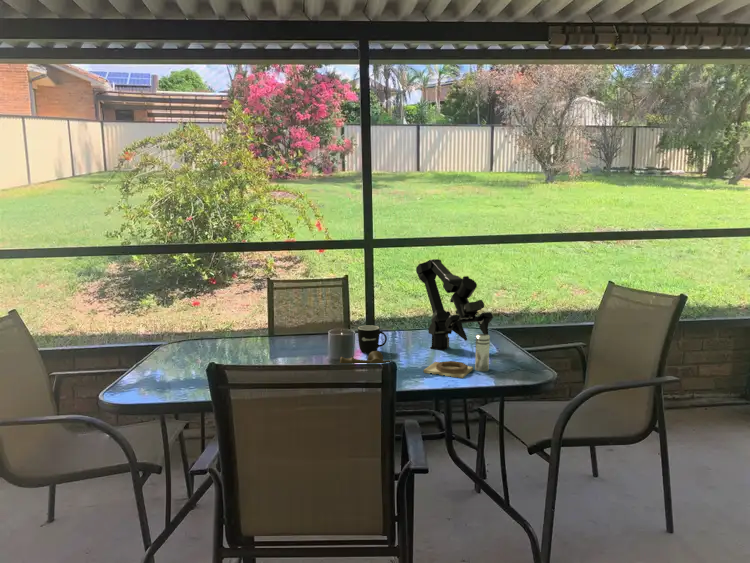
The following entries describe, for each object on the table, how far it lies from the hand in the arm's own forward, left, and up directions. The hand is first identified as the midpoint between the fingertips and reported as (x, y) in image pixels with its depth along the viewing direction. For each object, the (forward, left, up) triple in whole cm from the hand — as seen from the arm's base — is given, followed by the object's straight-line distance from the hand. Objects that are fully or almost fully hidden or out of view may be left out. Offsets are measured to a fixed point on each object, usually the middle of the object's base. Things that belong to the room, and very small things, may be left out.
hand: (477, 338), depth 226 cm
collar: (-8, -10, -11) cm, 17 cm away
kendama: (-36, -21, -11) cm, 43 cm away
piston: (+3, -3, -11) cm, 11 cm away
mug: (-45, +1, -11) cm, 46 cm away
